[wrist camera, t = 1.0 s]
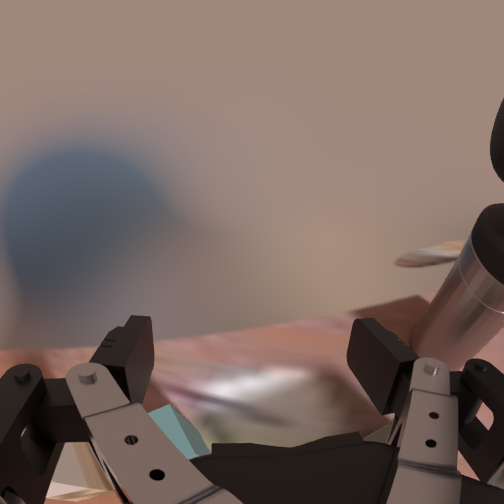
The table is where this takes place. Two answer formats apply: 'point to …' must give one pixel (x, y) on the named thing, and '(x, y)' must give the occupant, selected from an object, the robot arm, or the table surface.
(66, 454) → the cream cube
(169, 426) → the teal post
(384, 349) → the robot arm
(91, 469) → the maple cube
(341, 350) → the table surface
